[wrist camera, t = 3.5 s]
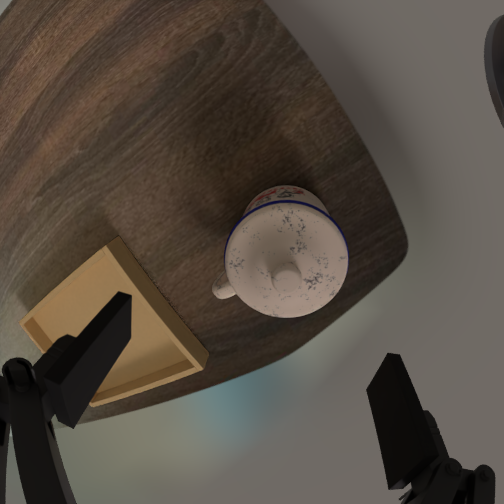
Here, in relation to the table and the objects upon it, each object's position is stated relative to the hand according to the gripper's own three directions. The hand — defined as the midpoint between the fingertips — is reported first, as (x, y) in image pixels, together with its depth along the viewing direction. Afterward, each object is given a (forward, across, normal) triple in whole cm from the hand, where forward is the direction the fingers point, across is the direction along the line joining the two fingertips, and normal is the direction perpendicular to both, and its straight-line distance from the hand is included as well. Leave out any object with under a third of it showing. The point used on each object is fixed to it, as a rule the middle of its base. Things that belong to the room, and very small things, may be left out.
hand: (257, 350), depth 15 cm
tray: (+18, -18, -18) cm, 31 cm away
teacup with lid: (+18, 0, 0) cm, 18 cm away
